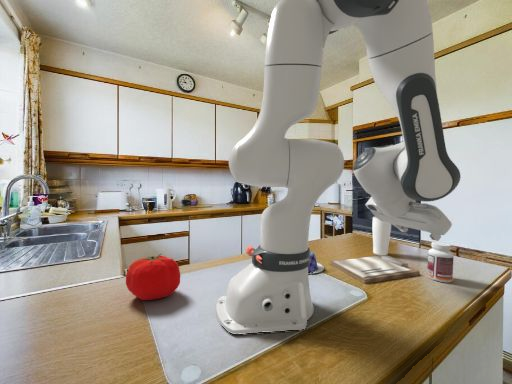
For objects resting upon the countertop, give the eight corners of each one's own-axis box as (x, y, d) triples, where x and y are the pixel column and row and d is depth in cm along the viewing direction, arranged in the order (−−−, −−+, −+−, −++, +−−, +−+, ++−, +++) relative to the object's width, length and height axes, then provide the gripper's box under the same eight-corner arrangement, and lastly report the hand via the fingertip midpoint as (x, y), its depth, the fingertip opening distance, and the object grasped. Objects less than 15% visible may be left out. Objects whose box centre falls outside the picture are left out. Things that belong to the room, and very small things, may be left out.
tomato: (176, 305, 55) (176, 262, 54) (118, 309, 53) (117, 265, 52) (183, 284, 66) (183, 248, 65) (135, 287, 64) (134, 250, 63)
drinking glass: (390, 253, 96) (391, 217, 96) (389, 258, 91) (391, 219, 90) (372, 250, 100) (373, 215, 99) (370, 254, 94) (371, 217, 94)
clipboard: (364, 283, 68) (364, 275, 68) (330, 264, 83) (330, 257, 83) (419, 274, 75) (419, 267, 75) (378, 258, 90) (378, 252, 90)
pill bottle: (455, 280, 71) (457, 244, 71) (447, 285, 68) (450, 247, 67) (431, 273, 76) (433, 240, 76) (423, 277, 73) (425, 242, 72)
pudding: (292, 276, 73) (293, 259, 73) (284, 262, 85) (284, 248, 85) (329, 275, 74) (330, 258, 74) (316, 261, 86) (316, 247, 86)
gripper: (441, 195, 54) (467, 234, 57) (373, 190, 73) (396, 219, 77) (426, 215, 53) (453, 254, 56) (361, 204, 72) (384, 234, 76)
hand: (419, 234), depth 67 cm, fingers open, 8 cm apart
